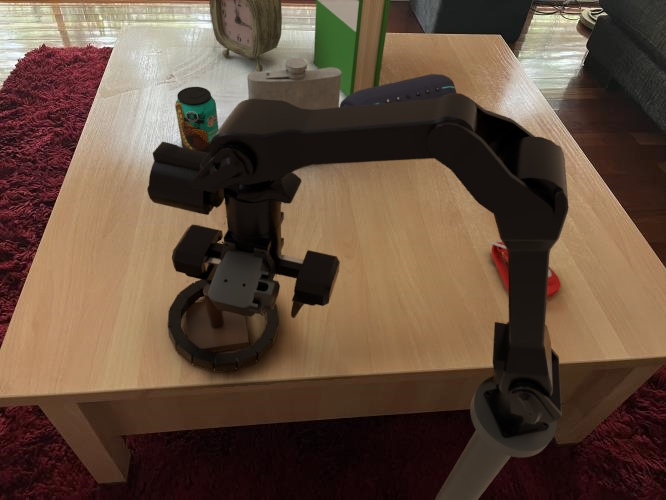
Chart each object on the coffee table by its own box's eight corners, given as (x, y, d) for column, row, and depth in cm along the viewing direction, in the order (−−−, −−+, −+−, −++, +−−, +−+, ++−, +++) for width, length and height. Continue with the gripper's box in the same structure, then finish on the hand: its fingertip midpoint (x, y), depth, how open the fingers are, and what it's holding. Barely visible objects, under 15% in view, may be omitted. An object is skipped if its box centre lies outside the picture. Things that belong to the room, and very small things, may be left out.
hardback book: (377, 92, 120) (393, -20, 102) (349, 98, 117) (360, -15, 100) (340, 57, 130) (348, -49, 113) (313, 62, 127) (318, -46, 110)
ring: (272, 283, 79) (274, 274, 78) (281, 368, 69) (283, 360, 68) (171, 284, 76) (170, 275, 74) (166, 374, 66) (165, 366, 64)
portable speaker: (357, 155, 102) (362, 110, 95) (332, 128, 108) (336, 84, 101) (458, 127, 112) (470, 84, 104) (431, 104, 118) (440, 61, 110)
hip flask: (332, 150, 103) (340, 52, 89) (337, 162, 101) (345, 64, 86) (251, 157, 100) (245, 57, 85) (254, 170, 97) (248, 69, 83)
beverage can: (175, 152, 100) (164, 95, 91) (202, 136, 104) (194, 80, 95) (202, 167, 97) (193, 110, 88) (228, 150, 101) (223, 94, 92)
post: (249, 347, 71) (245, 310, 65) (188, 356, 70) (179, 319, 64) (243, 300, 76) (239, 263, 70) (186, 308, 75) (178, 270, 69)
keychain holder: (565, 266, 83) (565, 300, 75) (548, 285, 86) (546, 320, 78) (498, 228, 85) (491, 257, 76) (483, 248, 87) (475, 278, 79)
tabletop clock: (215, 57, 126) (203, -59, 108) (241, 44, 131) (234, -68, 113) (259, 78, 121) (255, -41, 103) (285, 64, 126) (285, -51, 108)
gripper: (135, 251, 51) (162, 340, 63) (319, 294, 49) (313, 379, 61) (184, 182, 59) (200, 273, 70) (345, 217, 57) (335, 305, 68)
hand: (259, 306), depth 67 cm, fingers open, 9 cm apart
